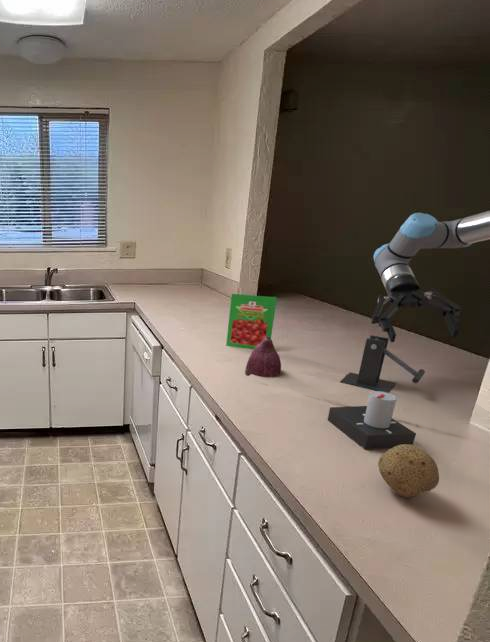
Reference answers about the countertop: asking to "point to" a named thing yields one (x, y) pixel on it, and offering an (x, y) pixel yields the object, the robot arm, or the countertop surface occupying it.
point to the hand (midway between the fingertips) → (424, 336)
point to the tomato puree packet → (250, 320)
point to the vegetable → (264, 360)
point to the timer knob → (380, 409)
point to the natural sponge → (408, 470)
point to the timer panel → (369, 429)
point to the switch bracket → (371, 367)
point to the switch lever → (405, 366)
